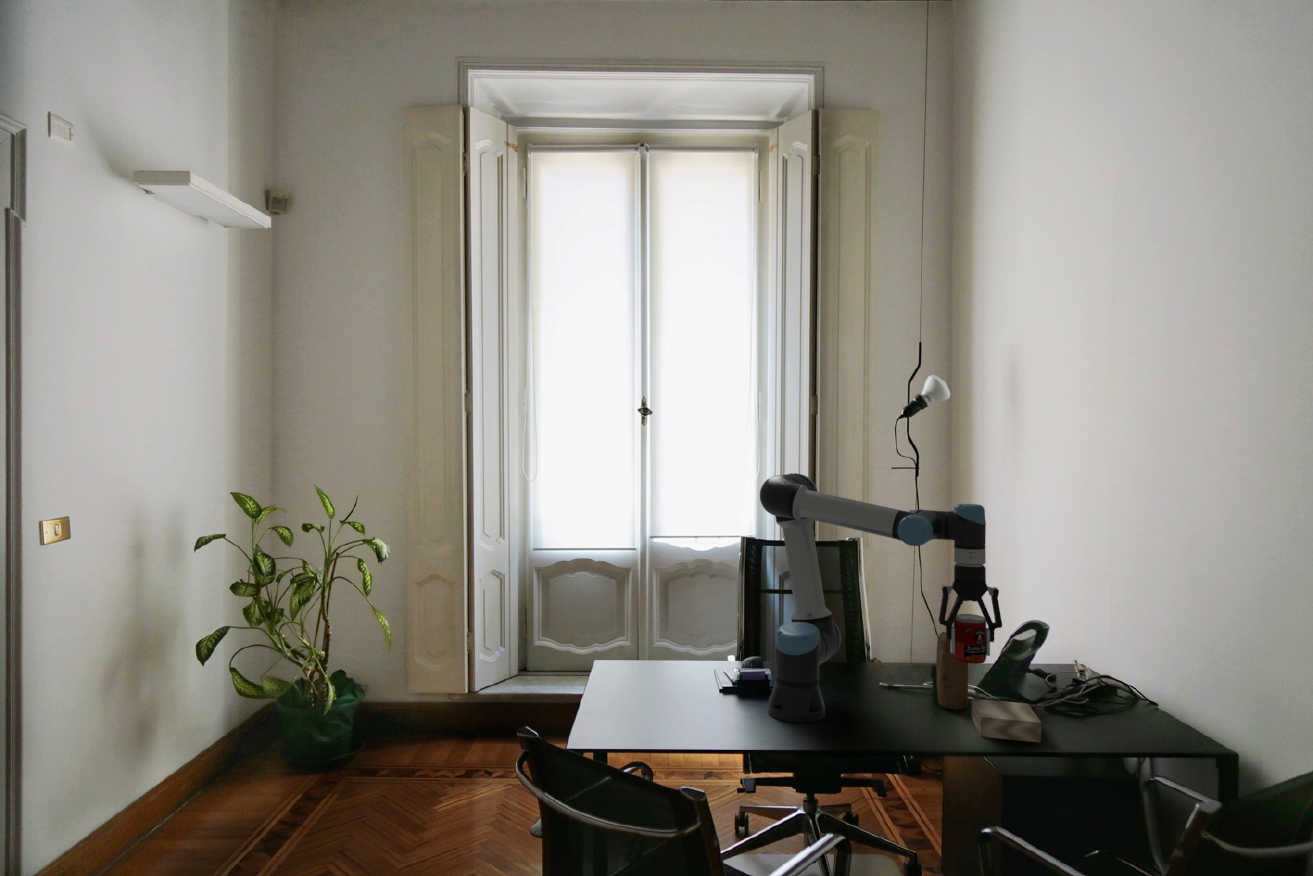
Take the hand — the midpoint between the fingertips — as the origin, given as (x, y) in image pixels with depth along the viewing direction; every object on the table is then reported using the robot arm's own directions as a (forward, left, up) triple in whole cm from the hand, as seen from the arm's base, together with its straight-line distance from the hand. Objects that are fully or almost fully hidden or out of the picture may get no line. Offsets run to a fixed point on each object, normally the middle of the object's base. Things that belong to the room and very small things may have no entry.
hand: (970, 653), depth 200 cm
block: (-2, +20, -20) cm, 28 cm away
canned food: (0, 0, -2) cm, 2 cm away
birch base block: (+9, +4, -20) cm, 22 cm away
